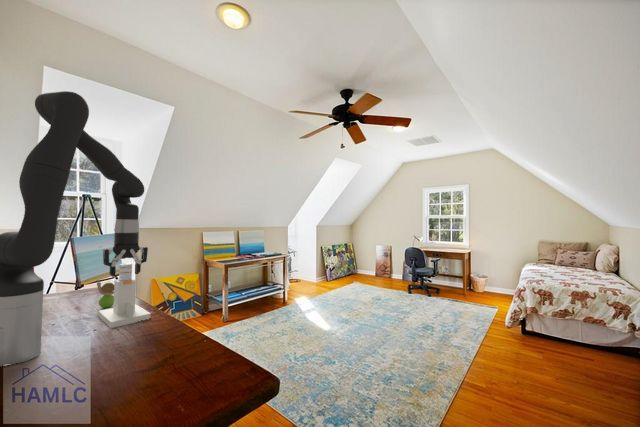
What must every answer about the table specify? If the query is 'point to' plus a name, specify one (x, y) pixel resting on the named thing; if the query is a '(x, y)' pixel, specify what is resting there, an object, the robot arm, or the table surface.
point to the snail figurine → (106, 294)
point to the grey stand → (123, 306)
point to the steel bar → (125, 272)
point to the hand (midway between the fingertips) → (125, 275)
